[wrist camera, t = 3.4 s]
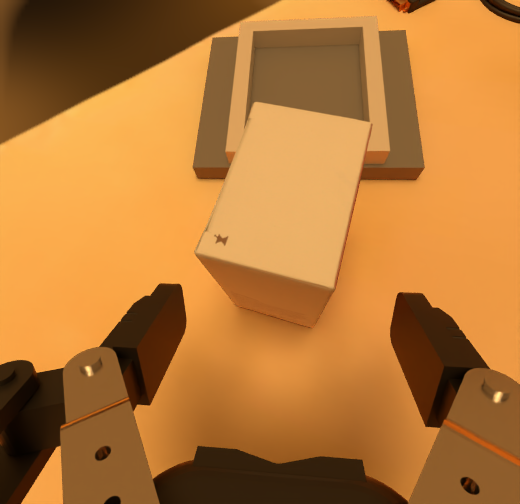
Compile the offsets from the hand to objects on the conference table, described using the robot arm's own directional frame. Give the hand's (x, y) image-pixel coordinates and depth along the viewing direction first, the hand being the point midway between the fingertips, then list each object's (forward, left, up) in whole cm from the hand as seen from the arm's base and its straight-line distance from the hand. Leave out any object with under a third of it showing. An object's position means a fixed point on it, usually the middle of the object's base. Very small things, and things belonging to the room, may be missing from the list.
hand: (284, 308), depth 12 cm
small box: (0, -5, -10) cm, 11 cm away
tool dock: (-1, -19, -10) cm, 21 cm away
